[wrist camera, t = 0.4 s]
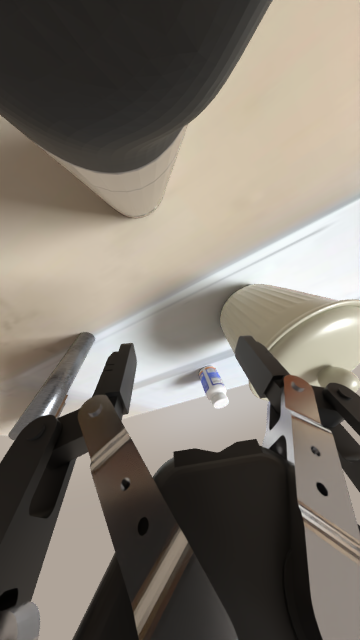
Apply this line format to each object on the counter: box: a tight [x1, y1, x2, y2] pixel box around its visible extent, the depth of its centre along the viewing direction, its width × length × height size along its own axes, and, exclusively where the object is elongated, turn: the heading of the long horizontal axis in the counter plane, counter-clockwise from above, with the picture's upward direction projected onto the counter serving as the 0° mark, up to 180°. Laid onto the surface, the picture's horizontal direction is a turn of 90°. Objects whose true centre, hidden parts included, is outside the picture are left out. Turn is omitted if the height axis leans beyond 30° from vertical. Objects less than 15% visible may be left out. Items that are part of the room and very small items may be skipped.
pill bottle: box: [199, 366, 229, 408], centre depth 38 cm, size 5×5×10 cm
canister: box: [220, 284, 360, 401], centre depth 25 cm, size 18×18×21 cm
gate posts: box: [9, 332, 95, 440], centre depth 26 cm, size 26×3×17 cm, turn 147°
